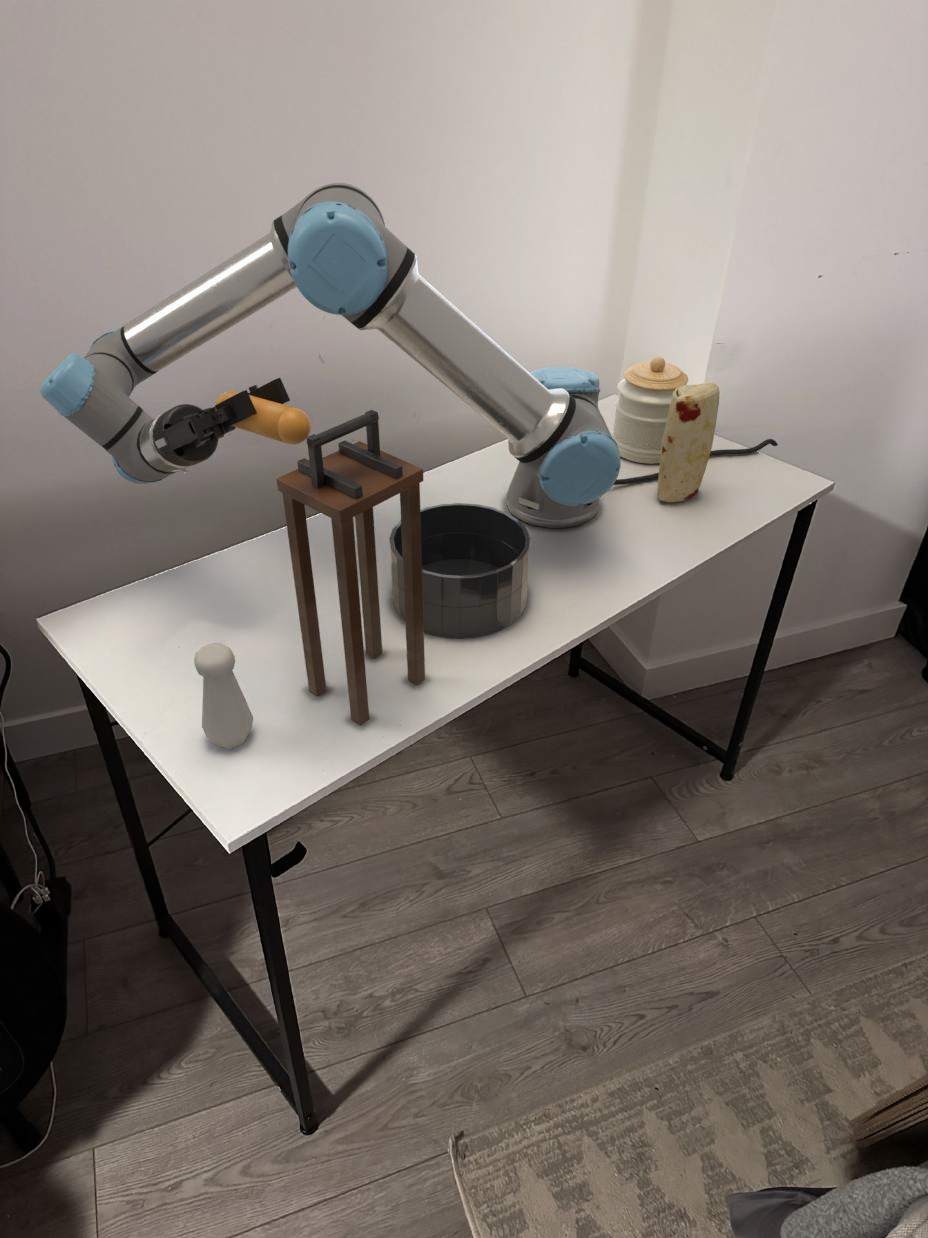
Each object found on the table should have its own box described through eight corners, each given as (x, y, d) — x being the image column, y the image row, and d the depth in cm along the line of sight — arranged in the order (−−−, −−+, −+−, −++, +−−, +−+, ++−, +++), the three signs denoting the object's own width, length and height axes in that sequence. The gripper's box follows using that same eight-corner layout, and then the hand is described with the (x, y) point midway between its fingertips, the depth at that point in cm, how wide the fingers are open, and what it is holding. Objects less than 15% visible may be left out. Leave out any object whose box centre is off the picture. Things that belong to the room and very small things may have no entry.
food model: (671, 512, 147) (690, 398, 134) (643, 496, 151) (659, 384, 139) (712, 496, 151) (734, 384, 139) (684, 480, 155) (703, 371, 143)
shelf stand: (305, 691, 111) (269, 429, 90) (374, 646, 118) (356, 394, 97) (359, 728, 106) (335, 460, 84) (428, 679, 113) (422, 420, 92)
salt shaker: (237, 760, 102) (219, 674, 94) (195, 746, 103) (174, 661, 95) (264, 726, 106) (249, 642, 98) (224, 714, 108) (205, 630, 100)
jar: (609, 432, 171) (620, 342, 160) (677, 435, 170) (692, 345, 159) (611, 463, 161) (622, 369, 150) (683, 467, 159) (700, 373, 149)
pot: (512, 555, 136) (515, 498, 130) (539, 632, 121) (543, 571, 115) (387, 565, 134) (384, 507, 128) (399, 644, 119) (396, 583, 113)
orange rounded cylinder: (213, 426, 105) (205, 393, 103) (240, 416, 107) (233, 383, 105) (293, 453, 96) (286, 417, 94) (320, 440, 98) (315, 406, 96)
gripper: (245, 444, 122) (337, 404, 104) (135, 488, 112) (217, 453, 94) (221, 391, 120) (310, 342, 102) (107, 432, 110) (185, 386, 92)
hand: (265, 396), depth 98 cm, fingers closed on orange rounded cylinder, 4 cm apart
